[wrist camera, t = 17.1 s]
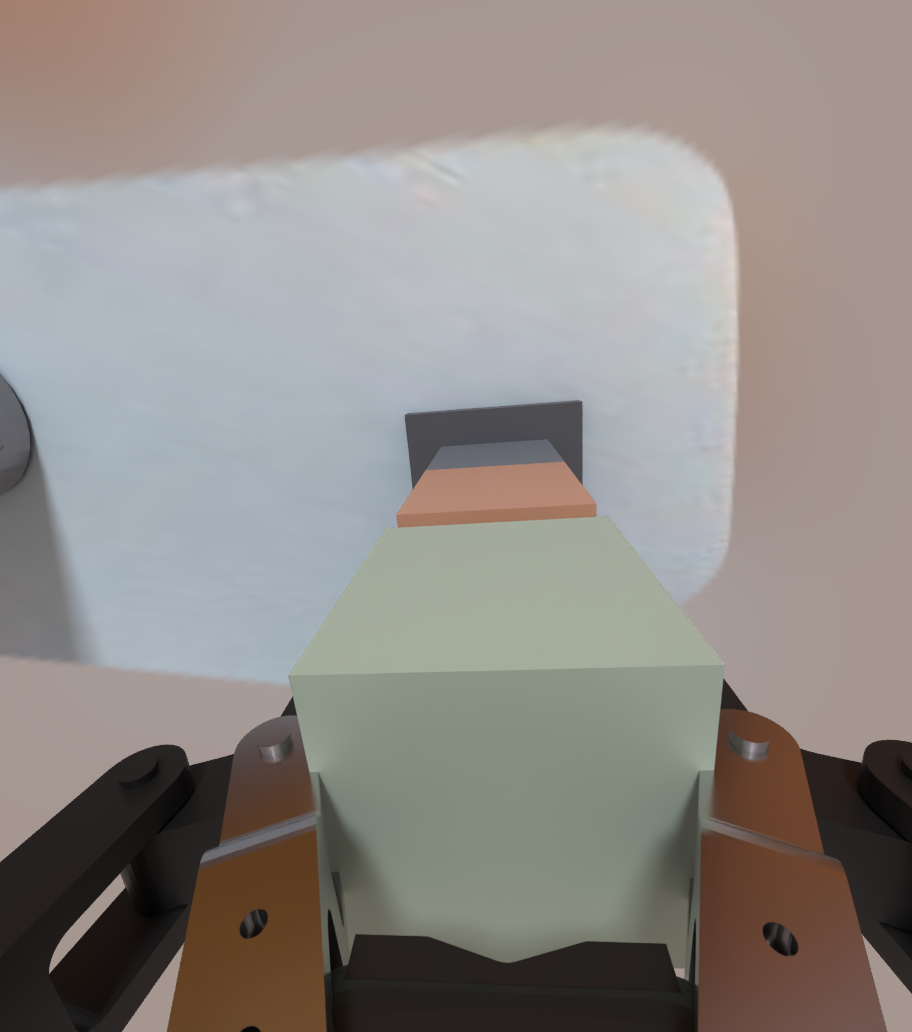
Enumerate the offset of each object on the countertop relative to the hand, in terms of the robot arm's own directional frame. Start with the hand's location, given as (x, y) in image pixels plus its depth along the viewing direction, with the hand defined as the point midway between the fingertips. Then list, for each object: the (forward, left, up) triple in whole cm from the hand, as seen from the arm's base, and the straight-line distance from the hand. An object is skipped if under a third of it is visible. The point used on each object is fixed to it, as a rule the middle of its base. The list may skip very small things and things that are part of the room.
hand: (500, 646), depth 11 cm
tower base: (0, 0, -15) cm, 15 cm away
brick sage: (0, 0, -1) cm, 1 cm away
